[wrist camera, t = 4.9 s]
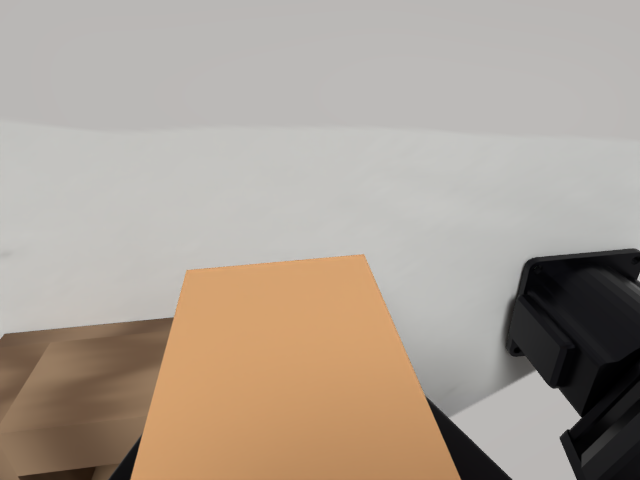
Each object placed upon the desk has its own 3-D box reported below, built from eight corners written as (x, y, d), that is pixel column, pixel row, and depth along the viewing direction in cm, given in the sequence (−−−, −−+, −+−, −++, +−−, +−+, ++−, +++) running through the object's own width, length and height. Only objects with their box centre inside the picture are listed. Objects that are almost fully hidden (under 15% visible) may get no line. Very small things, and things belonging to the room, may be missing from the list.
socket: (234, 311, 22) (226, 406, 17) (255, 451, 27) (254, 556, 22) (4, 333, 21) (-80, 442, 16) (72, 474, 26) (26, 591, 21)
